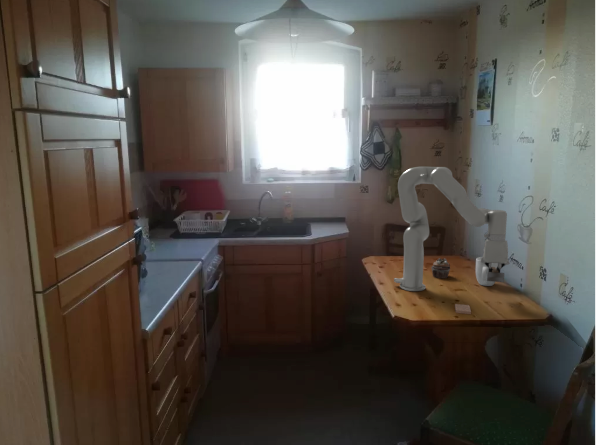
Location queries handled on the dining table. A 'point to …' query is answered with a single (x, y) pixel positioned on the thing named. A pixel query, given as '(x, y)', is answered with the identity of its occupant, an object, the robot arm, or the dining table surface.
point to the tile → (462, 309)
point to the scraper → (495, 276)
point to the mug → (483, 272)
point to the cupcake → (440, 268)
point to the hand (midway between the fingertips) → (493, 276)
